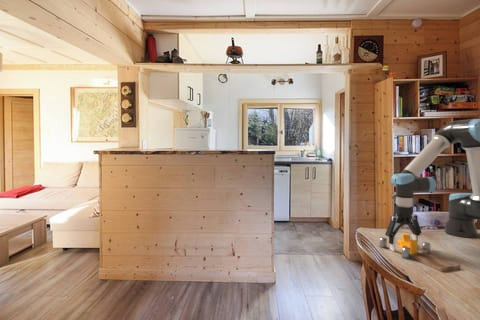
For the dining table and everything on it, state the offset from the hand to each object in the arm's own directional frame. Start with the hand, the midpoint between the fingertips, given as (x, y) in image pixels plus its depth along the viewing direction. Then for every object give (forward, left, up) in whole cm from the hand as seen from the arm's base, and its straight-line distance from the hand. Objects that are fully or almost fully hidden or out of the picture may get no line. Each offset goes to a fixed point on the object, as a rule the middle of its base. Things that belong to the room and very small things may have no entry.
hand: (403, 249), depth 148 cm
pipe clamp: (-2, +1, -1) cm, 2 cm away
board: (0, +17, 0) cm, 17 cm away
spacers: (0, +2, 0) cm, 2 cm away
